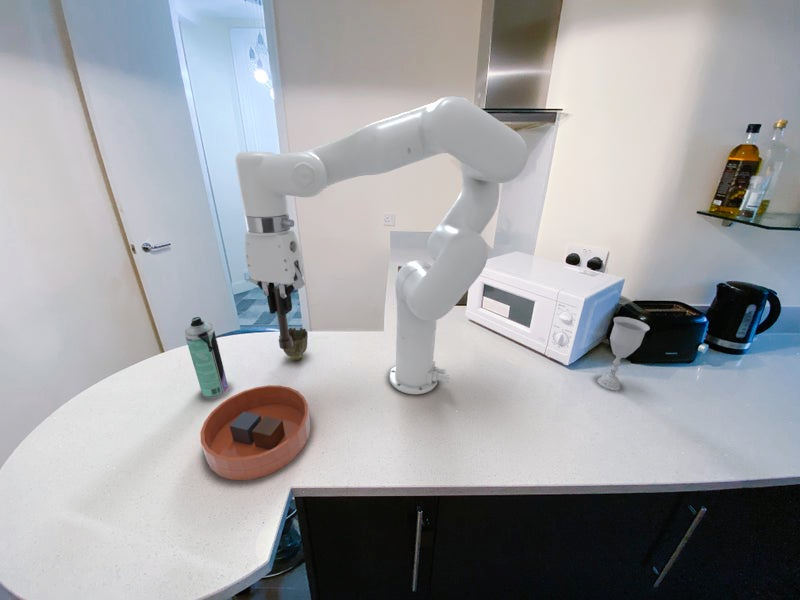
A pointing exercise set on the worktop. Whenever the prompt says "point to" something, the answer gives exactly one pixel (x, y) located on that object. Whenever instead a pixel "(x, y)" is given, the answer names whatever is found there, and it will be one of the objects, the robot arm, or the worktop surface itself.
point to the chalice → (623, 346)
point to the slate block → (244, 427)
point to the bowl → (249, 459)
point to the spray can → (206, 358)
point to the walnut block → (268, 433)
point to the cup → (297, 343)
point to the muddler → (282, 323)
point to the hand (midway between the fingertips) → (281, 311)
